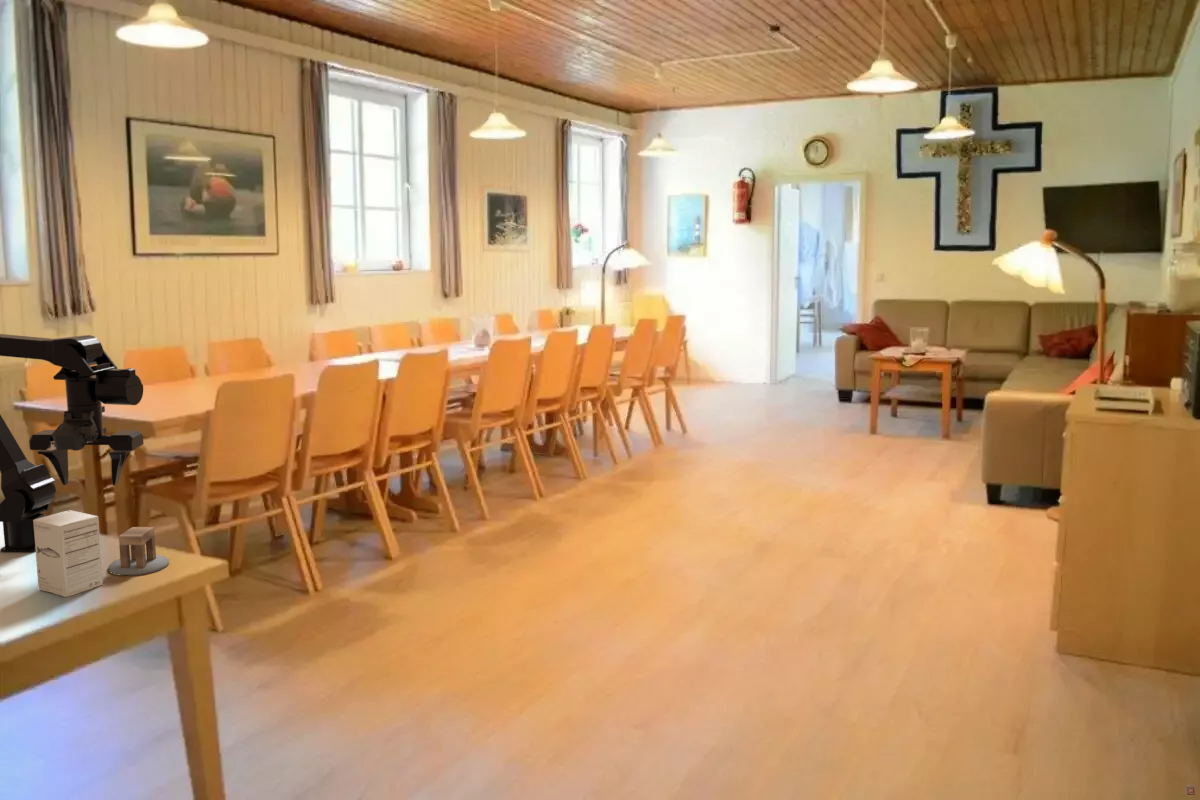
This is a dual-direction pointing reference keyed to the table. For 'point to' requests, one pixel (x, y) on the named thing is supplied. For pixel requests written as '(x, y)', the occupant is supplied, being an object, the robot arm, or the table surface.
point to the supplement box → (68, 552)
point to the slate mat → (133, 570)
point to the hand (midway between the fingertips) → (90, 484)
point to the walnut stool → (137, 546)
